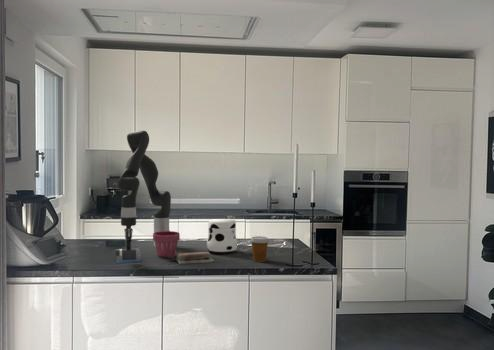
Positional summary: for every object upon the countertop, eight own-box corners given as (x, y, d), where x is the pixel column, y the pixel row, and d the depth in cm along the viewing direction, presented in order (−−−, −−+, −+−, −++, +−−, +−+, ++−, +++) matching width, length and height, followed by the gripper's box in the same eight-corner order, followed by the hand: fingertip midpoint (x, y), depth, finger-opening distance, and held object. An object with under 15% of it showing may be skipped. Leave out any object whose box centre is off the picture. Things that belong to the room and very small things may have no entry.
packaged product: (179, 255, 237) (175, 251, 246) (179, 265, 237) (175, 261, 246) (214, 253, 243) (209, 249, 252) (214, 262, 243) (209, 258, 252)
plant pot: (171, 260, 245) (171, 235, 245) (147, 258, 250) (147, 234, 249) (184, 255, 258) (184, 232, 258) (161, 253, 263) (161, 230, 263)
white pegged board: (138, 254, 260) (138, 247, 260) (141, 262, 239) (141, 255, 239) (115, 255, 256) (115, 248, 256) (116, 264, 235) (116, 257, 235)
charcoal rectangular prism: (135, 258, 244) (135, 248, 244) (135, 259, 241) (136, 249, 241) (115, 259, 241) (115, 249, 241) (115, 260, 238) (115, 250, 238)
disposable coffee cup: (257, 263, 241) (258, 239, 240) (246, 259, 248) (247, 237, 248) (272, 261, 246) (272, 238, 246) (261, 257, 254) (261, 235, 253)
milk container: (243, 252, 269) (243, 220, 268) (221, 256, 256) (221, 223, 255) (222, 248, 280) (222, 217, 280) (200, 252, 268) (200, 220, 267)
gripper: (136, 217, 236) (136, 251, 236) (135, 214, 248) (135, 247, 249) (121, 217, 234) (121, 252, 234) (120, 214, 246) (120, 247, 247)
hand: (128, 249), depth 242 cm, fingers closed
